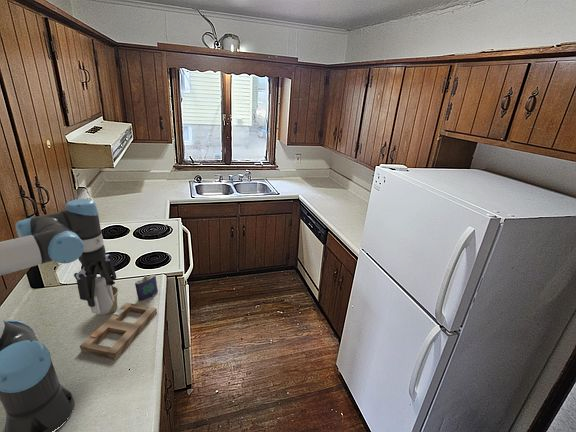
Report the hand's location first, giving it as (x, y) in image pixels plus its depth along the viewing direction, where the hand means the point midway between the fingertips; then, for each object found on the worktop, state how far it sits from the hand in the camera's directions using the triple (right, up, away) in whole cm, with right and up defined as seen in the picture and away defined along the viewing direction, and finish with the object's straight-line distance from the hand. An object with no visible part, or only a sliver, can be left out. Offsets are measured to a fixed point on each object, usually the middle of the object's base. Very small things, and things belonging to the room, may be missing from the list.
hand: (103, 306), depth 105 cm
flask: (+1, -5, +31) cm, 32 cm away
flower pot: (-11, -8, +22) cm, 26 cm away
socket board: (0, -13, +12) cm, 18 cm away
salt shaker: (0, -2, +1) cm, 2 cm away
